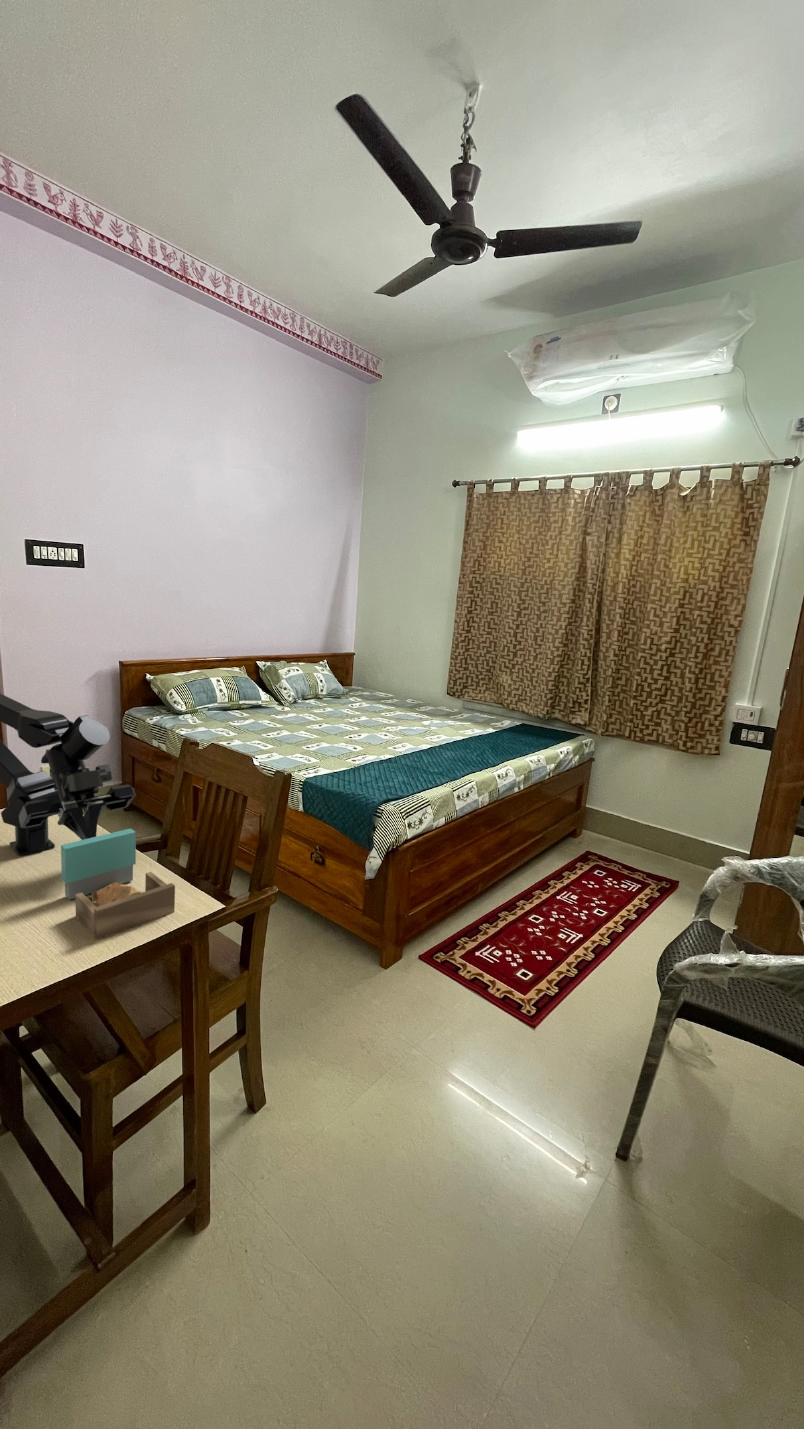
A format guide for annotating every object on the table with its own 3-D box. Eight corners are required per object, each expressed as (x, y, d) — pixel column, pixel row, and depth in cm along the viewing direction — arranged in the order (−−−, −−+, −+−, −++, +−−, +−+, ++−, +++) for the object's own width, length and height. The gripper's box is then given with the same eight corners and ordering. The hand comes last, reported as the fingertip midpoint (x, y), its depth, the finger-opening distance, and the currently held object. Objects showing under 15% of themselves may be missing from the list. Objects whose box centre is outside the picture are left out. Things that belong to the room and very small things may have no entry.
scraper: (62, 896, 100) (60, 845, 98) (130, 875, 109) (130, 828, 107) (66, 900, 99) (65, 849, 97) (135, 879, 108) (135, 832, 106)
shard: (94, 929, 93) (94, 919, 93) (59, 917, 96) (58, 907, 95) (143, 899, 103) (144, 890, 103) (111, 888, 106) (111, 879, 105)
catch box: (75, 916, 95) (75, 888, 94) (150, 891, 105) (151, 866, 104) (97, 939, 90) (97, 911, 89) (174, 911, 100) (175, 885, 99)
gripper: (22, 758, 97) (45, 841, 93) (132, 745, 111) (157, 816, 107) (9, 788, 104) (30, 867, 99) (114, 772, 118) (138, 840, 113)
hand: (92, 846), depth 104 cm, fingers closed
